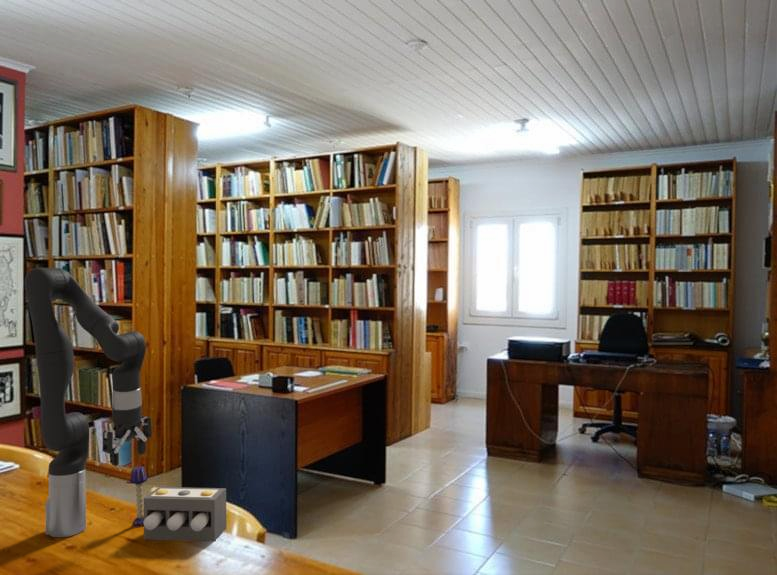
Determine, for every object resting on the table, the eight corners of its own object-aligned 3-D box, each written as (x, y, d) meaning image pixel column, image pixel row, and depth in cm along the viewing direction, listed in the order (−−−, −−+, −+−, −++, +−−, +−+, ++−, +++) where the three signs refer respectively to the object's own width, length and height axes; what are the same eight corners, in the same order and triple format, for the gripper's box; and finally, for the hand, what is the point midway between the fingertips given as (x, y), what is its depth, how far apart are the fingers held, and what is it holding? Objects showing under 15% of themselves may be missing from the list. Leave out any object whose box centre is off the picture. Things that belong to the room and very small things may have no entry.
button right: (190, 531, 158) (190, 517, 158) (200, 521, 164) (200, 508, 164) (203, 531, 158) (203, 518, 158) (212, 521, 164) (212, 508, 164)
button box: (143, 539, 163) (143, 496, 162) (159, 526, 172) (158, 484, 171) (214, 541, 161) (214, 497, 161) (226, 528, 170) (226, 486, 170)
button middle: (167, 530, 158) (166, 517, 158) (177, 520, 165) (177, 507, 165) (180, 530, 158) (179, 517, 158) (190, 521, 165) (189, 508, 165)
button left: (143, 529, 159) (143, 516, 159) (154, 520, 165) (154, 507, 165) (156, 530, 159) (156, 516, 159) (167, 520, 165) (167, 507, 165)
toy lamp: (141, 528, 170) (140, 470, 170) (126, 526, 171) (126, 469, 171) (151, 521, 175) (150, 465, 175) (137, 520, 176) (136, 464, 176)
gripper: (139, 394, 172) (140, 447, 174) (94, 408, 159) (96, 465, 162) (157, 399, 168) (158, 453, 171) (113, 414, 156) (115, 472, 158)
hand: (128, 459), depth 166 cm, fingers open, 8 cm apart
